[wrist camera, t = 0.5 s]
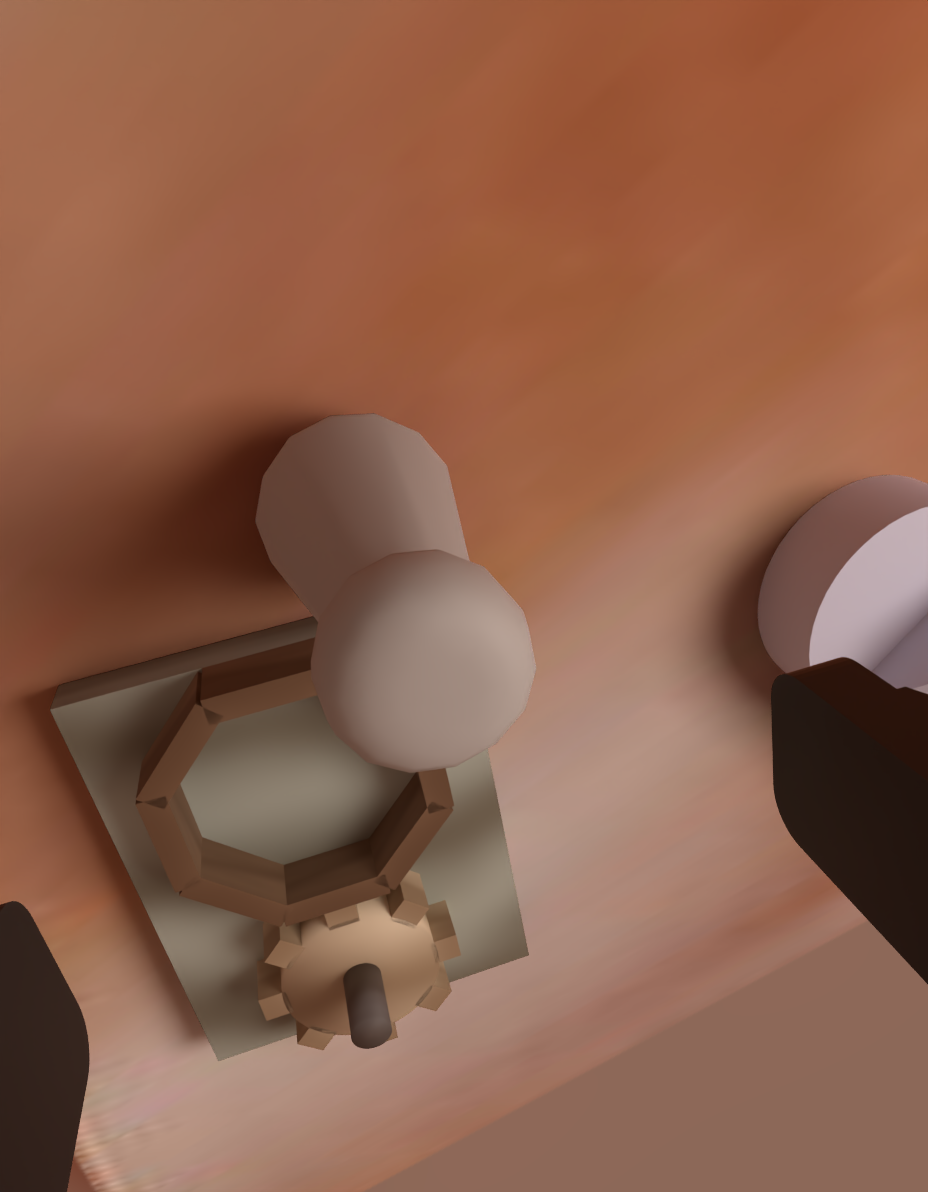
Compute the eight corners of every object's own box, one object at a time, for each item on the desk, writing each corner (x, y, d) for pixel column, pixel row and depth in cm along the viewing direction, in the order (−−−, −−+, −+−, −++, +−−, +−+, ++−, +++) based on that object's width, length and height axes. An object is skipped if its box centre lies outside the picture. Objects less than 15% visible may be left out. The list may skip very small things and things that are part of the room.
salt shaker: (312, 603, 28) (368, 874, 17) (217, 455, 25) (205, 657, 14) (466, 519, 28) (628, 730, 17) (388, 363, 25) (516, 488, 14)
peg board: (58, 685, 27) (19, 793, 22) (447, 580, 29) (492, 658, 24) (218, 1028, 35) (216, 1167, 30) (518, 928, 36) (563, 1042, 31)
